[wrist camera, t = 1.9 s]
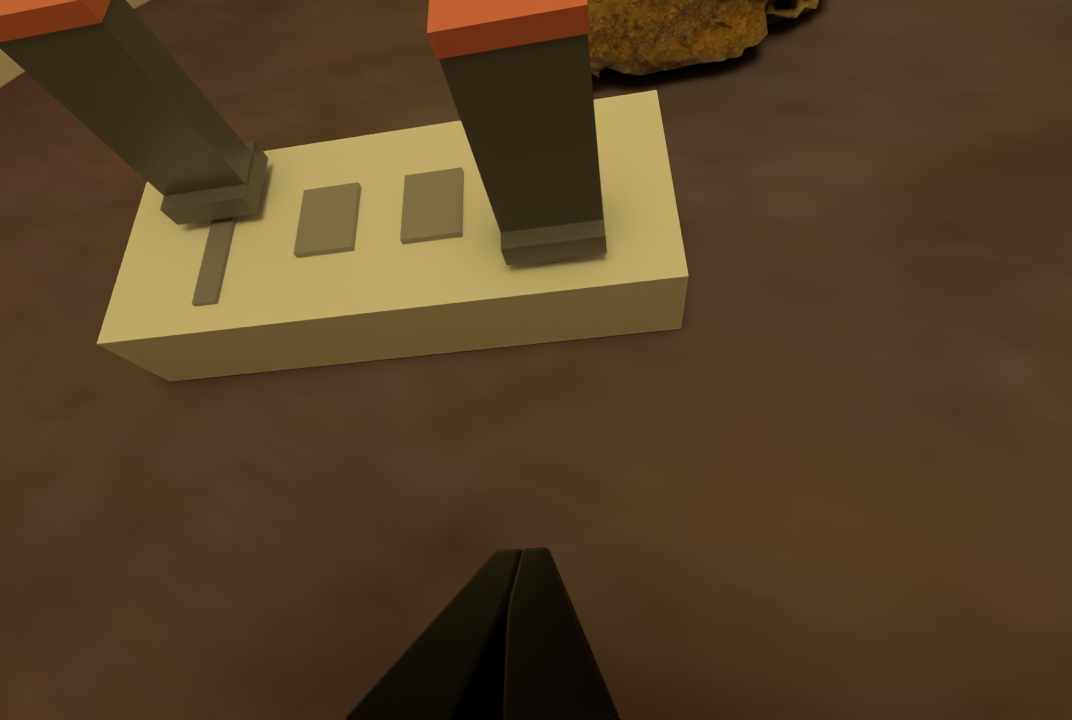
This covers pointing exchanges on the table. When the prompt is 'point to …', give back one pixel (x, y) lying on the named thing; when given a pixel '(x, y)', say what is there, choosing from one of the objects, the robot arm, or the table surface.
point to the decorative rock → (679, 31)
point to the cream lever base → (394, 259)
